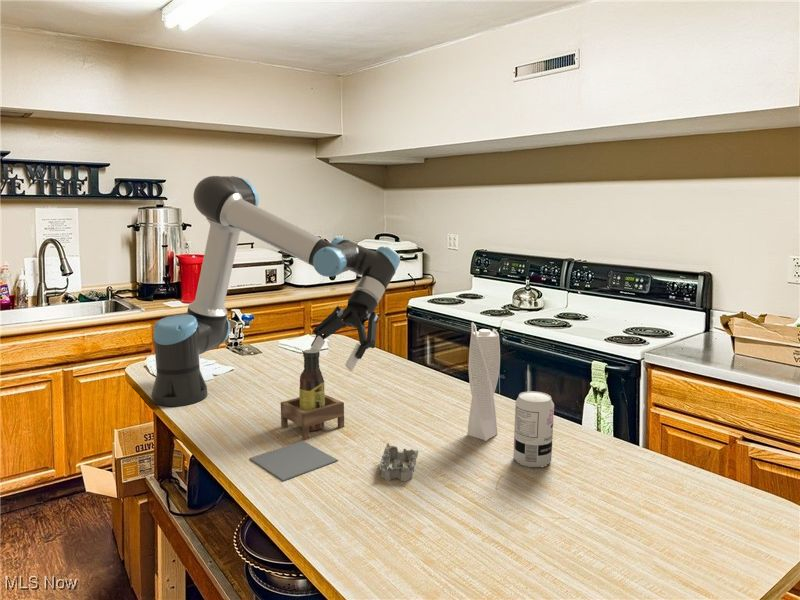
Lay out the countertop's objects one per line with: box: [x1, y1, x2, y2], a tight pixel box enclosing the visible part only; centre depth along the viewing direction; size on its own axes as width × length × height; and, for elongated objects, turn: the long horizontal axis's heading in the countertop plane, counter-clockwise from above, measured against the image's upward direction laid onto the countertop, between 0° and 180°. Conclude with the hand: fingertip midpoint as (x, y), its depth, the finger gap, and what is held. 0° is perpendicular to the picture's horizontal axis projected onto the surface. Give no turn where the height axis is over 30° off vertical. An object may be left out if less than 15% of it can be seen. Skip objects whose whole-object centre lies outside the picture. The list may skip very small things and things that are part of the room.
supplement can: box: [513, 390, 555, 468], centre depth 131 cm, size 8×8×15 cm
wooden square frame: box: [280, 394, 345, 441], centre depth 150 cm, size 11×12×6 cm
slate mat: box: [249, 440, 339, 482], centre depth 132 cm, size 14×14×1 cm
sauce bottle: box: [298, 348, 326, 432], centre depth 149 cm, size 6×6×20 cm
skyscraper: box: [466, 321, 501, 442], centre depth 144 cm, size 8×8×28 cm
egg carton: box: [379, 442, 419, 482], centre depth 127 cm, size 11×8×4 cm
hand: (328, 363), depth 151 cm, fingers open, 13 cm apart
